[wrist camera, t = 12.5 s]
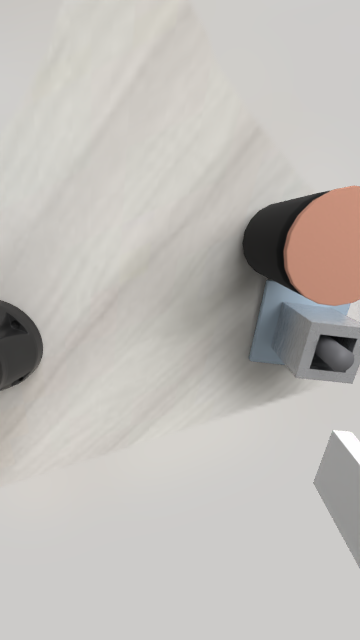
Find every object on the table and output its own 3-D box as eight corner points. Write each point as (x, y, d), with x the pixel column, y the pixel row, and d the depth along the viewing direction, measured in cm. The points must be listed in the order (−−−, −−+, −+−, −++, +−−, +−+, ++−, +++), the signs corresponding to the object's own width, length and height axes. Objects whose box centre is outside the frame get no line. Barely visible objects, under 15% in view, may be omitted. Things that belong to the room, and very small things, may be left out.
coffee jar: (306, 274, 44) (390, 304, 27) (239, 276, 44) (280, 308, 27) (314, 202, 40) (417, 183, 23) (242, 204, 40) (292, 186, 23)
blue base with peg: (248, 358, 48) (274, 403, 36) (266, 279, 44) (302, 299, 32) (325, 366, 49) (375, 413, 37) (350, 290, 45) (417, 314, 32)
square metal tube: (271, 347, 47) (295, 377, 37) (282, 301, 44) (312, 321, 35) (316, 352, 47) (352, 383, 38) (330, 307, 44) (372, 329, 35)
